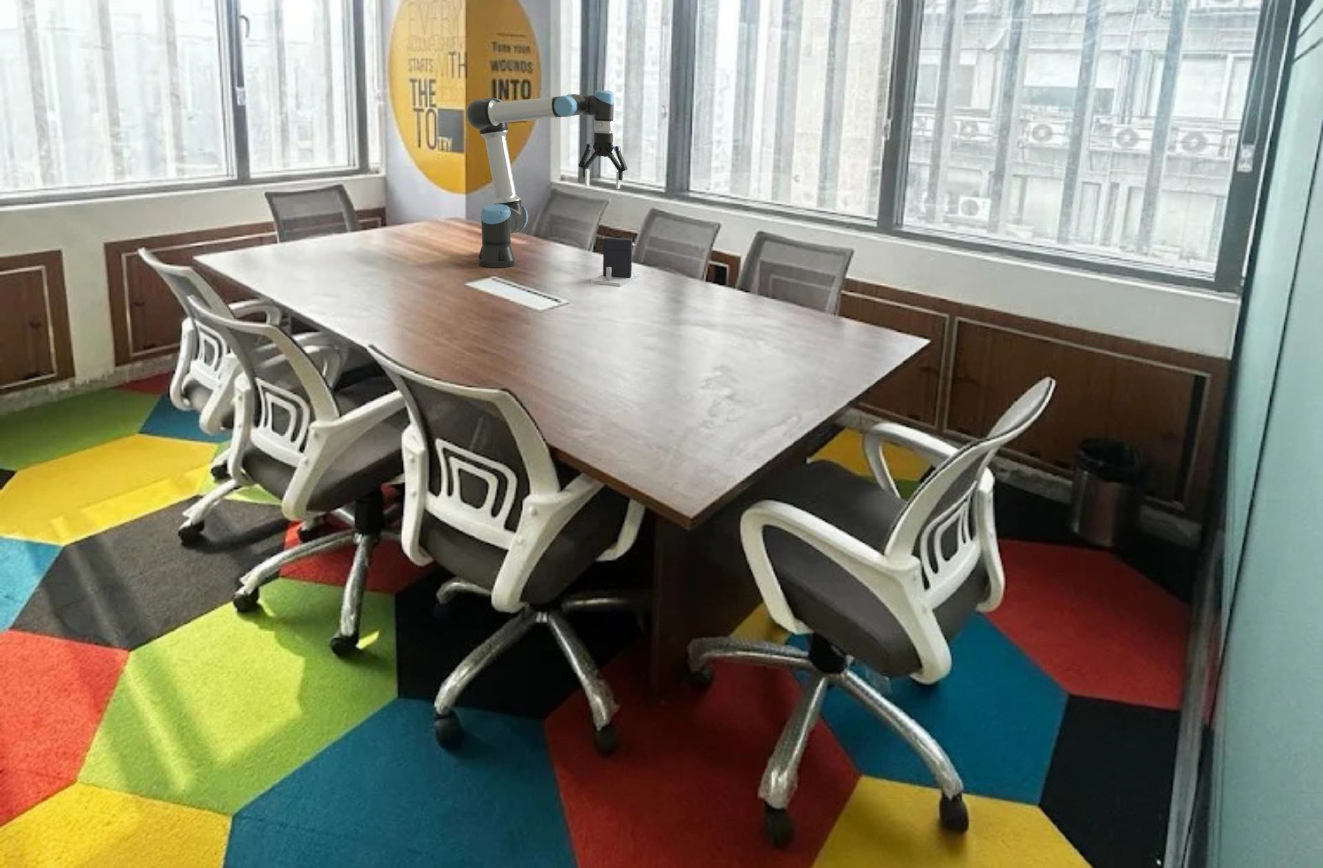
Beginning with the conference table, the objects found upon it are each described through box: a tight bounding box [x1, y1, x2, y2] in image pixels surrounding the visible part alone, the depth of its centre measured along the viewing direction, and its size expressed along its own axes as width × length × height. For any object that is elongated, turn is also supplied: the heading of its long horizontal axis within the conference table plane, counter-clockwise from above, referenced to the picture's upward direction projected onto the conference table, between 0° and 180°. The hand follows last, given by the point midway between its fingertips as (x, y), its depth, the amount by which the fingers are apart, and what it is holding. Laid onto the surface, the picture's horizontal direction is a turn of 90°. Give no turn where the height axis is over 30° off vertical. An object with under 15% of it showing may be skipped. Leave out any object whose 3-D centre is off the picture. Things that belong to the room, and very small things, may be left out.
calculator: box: [602, 236, 633, 278], centre depth 376 cm, size 11×4×15 cm, turn 84°
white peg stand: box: [590, 267, 642, 287], centre depth 378 cm, size 12×22×6 cm, turn 160°
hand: (602, 187), depth 387 cm, fingers open, 13 cm apart
